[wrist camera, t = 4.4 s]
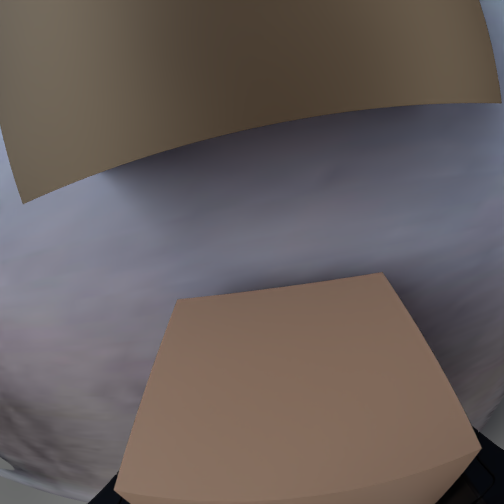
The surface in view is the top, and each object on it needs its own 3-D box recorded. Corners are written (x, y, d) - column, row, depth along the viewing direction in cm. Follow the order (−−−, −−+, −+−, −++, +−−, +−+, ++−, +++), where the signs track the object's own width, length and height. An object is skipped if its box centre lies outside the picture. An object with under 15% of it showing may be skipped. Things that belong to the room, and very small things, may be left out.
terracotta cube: (382, 272, 9) (481, 447, 3) (369, 401, 11) (404, 533, 6) (177, 299, 9) (113, 489, 4) (221, 419, 12) (208, 555, 6)
